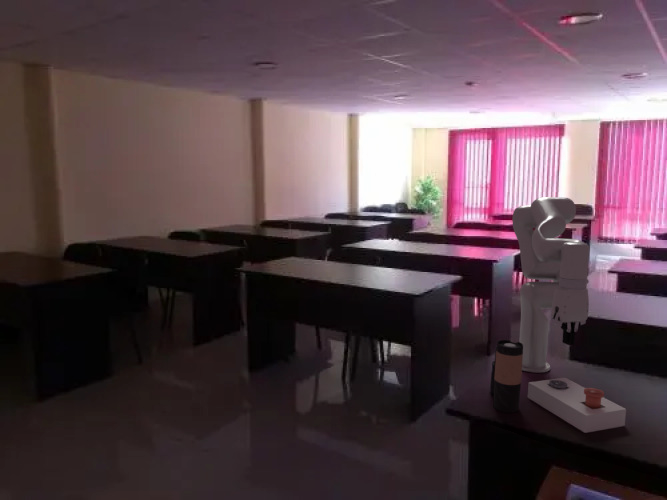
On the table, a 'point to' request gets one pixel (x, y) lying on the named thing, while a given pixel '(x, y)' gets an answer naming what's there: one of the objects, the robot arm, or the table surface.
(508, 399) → the travel mug
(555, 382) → the metal button
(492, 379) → the two-way radio
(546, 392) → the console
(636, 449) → the table surface
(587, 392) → the red button
